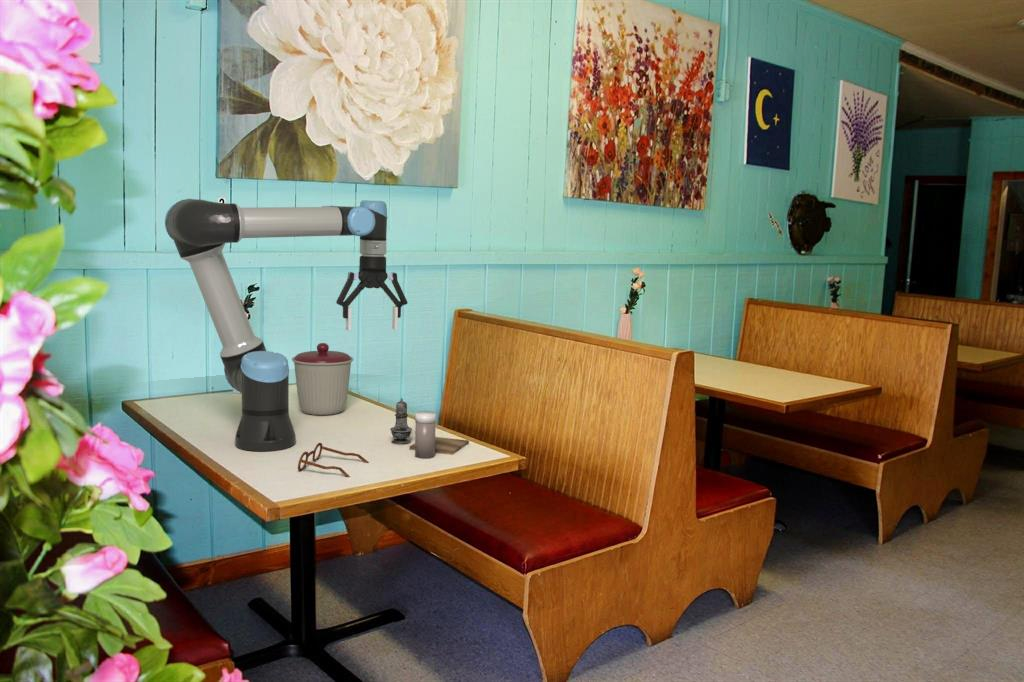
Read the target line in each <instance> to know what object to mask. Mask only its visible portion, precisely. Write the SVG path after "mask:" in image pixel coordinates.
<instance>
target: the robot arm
mask: <svg viewBox="0 0 1024 682" xmlns="http://www.w3.org/2000/svg"><path fill="white" fill-rule="evenodd" d="M387 225H388V207H387V203H386V201H383V200H366V199H365V200H363V199H362V200H361V201H360V204H359V206H343V205H342V206H338V205H322V206H295V207H294V206H291V207H290V206H289V207H288V206H287V207H285V206H284V207H283V206H281V207H279V206H277V207H272V206H271V207H265V206H264V207H261V206H258V207H240V206H239V204H237V203H228V202H227V203H224V202H223V203H222V202H216V201H209V200H204V199H199V198H198V199H195V198H185V199H181V200H178V201H177V202H175V203H174V204H172V205H171V206H170V207H169V208H168V210H167V212H166V214H165V218H164V227H165V231H166V232H167V233H166V234H168V236H169V238H170V239H172V240H173V243H174V244H175V248H176V251H177V253H178V254H179V257H180V259H182V260H184V261H186V262H188V263H189V265H190V268H191V270H192V272H193V275H194V277H195V281H196V282H197V285H198V288H199V290H200V293H201V295H202V298H203V300H204V303H205V306H206V308H207V311H208V313H209V315H210V318H211V320H212V323H213V325H214V328H215V330H216V333H217V335H218V338H219V341H220V342H221V345H222V349H221V351H220V353H219V357H220V358H221V359H220V360H221V361H222V364H223V367H224V369H223V370H224V377H225V379H226V380H227V381H226V382H227V383H228V384H229V385H230V386H231V387H232V388H233V389H234V390H235V391H237V392H239V393H241V417H240V421H239V424H238V426H237V430H236V433H235V435H234V436H235V437H234V444H235V447H236V448H238V449H241V450H245V451H249V452H250V451H251V452H268V451H269V452H270V451H279V450H284V449H288V448H291V447H293V446H295V445H296V443H297V440H296V439H297V438H296V437H297V435H296V432H295V430H294V425H293V423H292V419H291V417H290V414H289V413H290V412H289V411H290V410H289V409H290V407H289V405H290V403H289V400H290V399H289V396H290V395H289V393H290V392H289V391H290V390H289V388H290V387H289V384H290V382H289V378H290V377H289V374H290V367H289V359H288V357H286V356H285V355H284V354H282V353H279V352H274V351H270V350H269V351H268V350H267V349H266V346H265V343H264V340H263V339H262V338H261V337H258V336H256V335H255V333H254V331H253V329H252V326H251V324H250V320H249V318H248V316H247V313H246V310H245V308H244V305H243V302H242V300H241V297H240V295H239V292H238V289H237V287H236V285H235V282H234V279H233V277H232V274H231V272H230V270H229V269H230V268H229V266H228V264H227V261H226V259H225V257H224V253H223V249H224V248H225V245H226V244H231V243H232V244H233V243H236V244H237V243H239V242H240V241H241V240H242V239H258V238H259V239H261V238H263V239H264V238H265V239H266V238H295V237H296V238H297V237H299V238H300V237H301V238H302V237H303V238H304V237H334V236H338V237H342V236H343V237H344V236H345V237H346V236H349V237H350V236H356V237H359V254H360V256H359V269H358V270H359V271H358V273H357V272H351V271H349V272H348V273H347V279H346V281H345V283H344V286H343V287H342V289H341V291H340V294H339V295H338V297H337V299H336V304H337V305H338V306H339V305H340V306H341V307H342V318H343V319H345V330H347V331H350V332H351V330H352V307H351V306H350V305H351V304H352V303H353V301H354V300H355V299H356V298H357V297H358V296H359V295H360V294H361V292H362V291H363V290H364V289H365V288H366V289H382V291H383V292H384V293H385V294H386V296H387V297H388V298H389V299H390V300H391V302H392V303H393V304H394V305H395V306H392V314H391V316H392V317H391V319H392V321H391V323H392V324H391V325H392V328H391V329H393V330H395V331H397V330H398V319H399V318H400V319H401V317H402V313H401V312H402V307H404V306H406V305H408V300H407V299H406V295H405V294H404V292H403V291H404V290H402V287H401V284H400V283H399V281H398V274H397V273H396V272H389V273H387V257H386V256H385V255H387V232H388V231H387V229H388V226H387ZM357 279H358V280H359V281H360V282H358V284H357V286H356V287H355V288H354V289H353V290H352V292H351V293H350V294H349V295H348V293H349V292H350V291H349V290H351V287H352V285H353V283H354V281H356V280H357ZM387 280H389V281H391V284H392V286H393V287H394V289H395V290H394V291H395V293H396V294H397V296H396V295H395V294H394V293H393V292H392V291H391V289H390V288H389V286H388V285H387V284H386V283H385V282H386V281H387ZM347 295H348V296H347ZM346 297H347V298H346Z"/></svg>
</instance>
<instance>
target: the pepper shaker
mask: <svg viewBox="0 0 1024 682" xmlns="http://www.w3.org/2000/svg"><path fill="white" fill-rule="evenodd" d="M414 415H415V417H414V421H415V422H414V423H415V428H414V429H415V430H414V431H415V432H414V433H415V434H414V435H415V436H414V438H415V440H414V443H415V450H414V457H415V458H417V459H425V460H427V459H428V460H429V459H433V458H435V457H436V453H435V437H436V426H437V425H436V423H437V413H436V412H435V411H433V410H432V411H431V410H419V411H417V412H415V413H414Z"/></svg>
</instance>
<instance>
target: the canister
mask: <svg viewBox="0 0 1024 682" xmlns="http://www.w3.org/2000/svg"><path fill="white" fill-rule="evenodd" d="M329 347H330V346H329V345H328V343H325V342H320V343H318V344H317V345H316V349H317V350H310V351H309V350H308V351H304V352H303V351H302V352H300V353H297V354H296V355H295V356H293V357H292V358H291V362H293V365H294V374H295V382H296V385H295V386H296V392H297V397H298V398H297V399H298V406H299V408H300V409H301V411H302V412H304V413H305V414H308V415H312V416H331V415H337V414H338V413H339V414H340V413H341V412H343V410H344V409H345V407H346V405H347V399H348V394H349V393H348V392H349V385H350V383H349V382H350V375H351V368H352V362H353V361H354V357H352V356H350V355H349V354H348V353H345V352H341V351H337V350H329V349H330V348H329Z"/></svg>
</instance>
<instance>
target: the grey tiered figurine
mask: <svg viewBox="0 0 1024 682" xmlns="http://www.w3.org/2000/svg"><path fill="white" fill-rule="evenodd" d="M408 416H409V414H408V403H407V402H405V401H404V399H403V398H402V397H401V398H400V400H399V401H398V402H396V405H395V414H394V417H395V424H394V426H393V427H390V429H389V430H390V433H391V436H392V437H393V438H394V439H392V440H390V441H391V444H393V445H398V446H401V445H402V446H403V445H409V444H411V443H412V441H411V440H410V439H408V438H410V436H411V434H412V431H413V428H412V427H410V426H409V424H408Z"/></svg>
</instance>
